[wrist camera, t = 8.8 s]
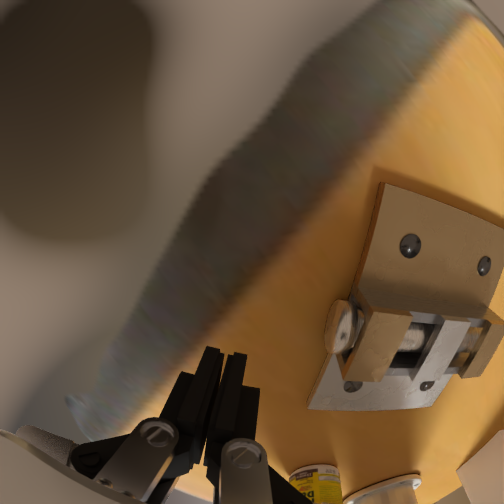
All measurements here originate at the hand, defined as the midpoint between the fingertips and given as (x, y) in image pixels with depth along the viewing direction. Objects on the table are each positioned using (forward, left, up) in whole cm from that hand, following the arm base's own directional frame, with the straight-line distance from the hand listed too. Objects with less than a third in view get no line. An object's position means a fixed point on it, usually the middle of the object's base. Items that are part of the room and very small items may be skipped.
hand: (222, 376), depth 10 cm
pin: (+1, -12, -6) cm, 14 cm away
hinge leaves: (+1, -12, -6) cm, 14 cm away
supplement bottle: (-20, -11, -6) cm, 24 cm away
